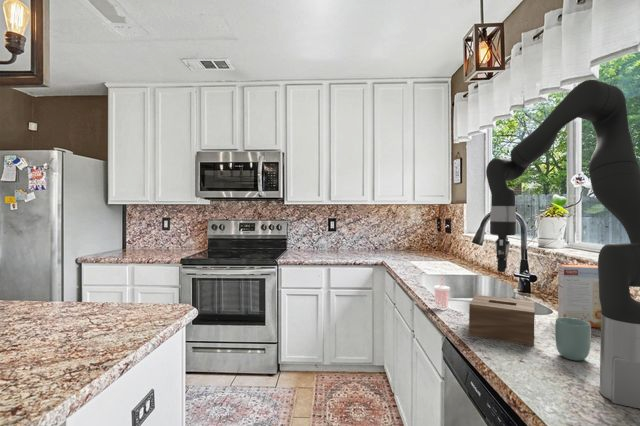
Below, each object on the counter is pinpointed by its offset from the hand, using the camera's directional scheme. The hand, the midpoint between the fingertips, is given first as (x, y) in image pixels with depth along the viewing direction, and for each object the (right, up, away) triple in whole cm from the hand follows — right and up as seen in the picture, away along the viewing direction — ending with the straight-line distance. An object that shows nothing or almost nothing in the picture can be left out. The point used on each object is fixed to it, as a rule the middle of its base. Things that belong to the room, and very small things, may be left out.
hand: (502, 270), depth 120 cm
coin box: (0, -21, 0) cm, 21 cm away
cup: (+10, -21, -19) cm, 30 cm away
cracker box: (+33, -21, +10) cm, 41 cm away
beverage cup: (-10, -20, +29) cm, 36 cm away
